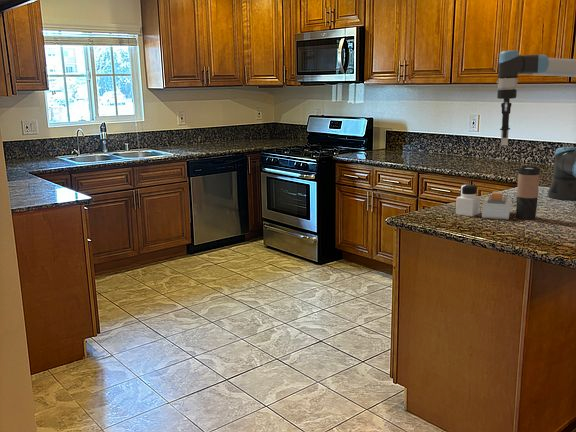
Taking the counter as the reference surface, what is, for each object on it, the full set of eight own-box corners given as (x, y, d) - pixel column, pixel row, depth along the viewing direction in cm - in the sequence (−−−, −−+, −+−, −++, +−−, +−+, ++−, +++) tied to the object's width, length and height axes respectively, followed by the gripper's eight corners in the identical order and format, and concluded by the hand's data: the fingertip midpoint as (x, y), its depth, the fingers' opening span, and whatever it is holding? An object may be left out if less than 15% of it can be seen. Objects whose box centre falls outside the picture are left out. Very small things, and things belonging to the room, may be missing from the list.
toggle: (502, 201, 226) (503, 191, 225) (501, 202, 223) (502, 192, 223) (491, 200, 228) (492, 191, 227) (491, 202, 225) (491, 192, 224)
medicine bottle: (479, 213, 232) (481, 184, 229) (472, 216, 227) (473, 187, 224) (463, 211, 237) (464, 183, 234) (455, 214, 232) (456, 185, 229)
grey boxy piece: (510, 212, 234) (511, 194, 232) (508, 219, 221) (509, 201, 220) (484, 210, 238) (485, 193, 236) (481, 217, 225) (482, 199, 223)
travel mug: (538, 220, 219) (542, 169, 214) (517, 219, 220) (520, 168, 216) (533, 215, 226) (537, 166, 222) (513, 215, 228) (517, 166, 223)
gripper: (498, 88, 244) (495, 143, 250) (496, 89, 233) (494, 146, 238) (517, 88, 242) (513, 143, 247) (516, 88, 230) (513, 147, 235)
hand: (504, 145), depth 242 cm, fingers closed
